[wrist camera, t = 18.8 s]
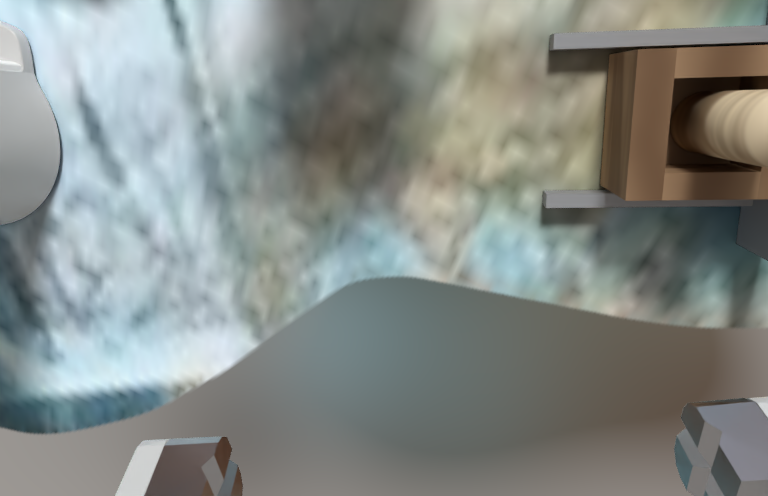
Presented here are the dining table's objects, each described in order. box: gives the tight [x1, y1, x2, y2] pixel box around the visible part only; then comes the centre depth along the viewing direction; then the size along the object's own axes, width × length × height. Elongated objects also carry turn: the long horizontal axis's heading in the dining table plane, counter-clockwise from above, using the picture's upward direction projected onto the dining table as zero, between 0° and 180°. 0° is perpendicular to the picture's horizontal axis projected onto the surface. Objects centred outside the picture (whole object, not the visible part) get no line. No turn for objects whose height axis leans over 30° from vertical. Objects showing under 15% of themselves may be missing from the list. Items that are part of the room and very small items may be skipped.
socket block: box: [600, 45, 768, 201], centre depth 37 cm, size 10×9×6 cm
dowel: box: [670, 89, 768, 168], centre depth 34 cm, size 4×4×10 cm
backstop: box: [543, 15, 768, 261], centre depth 36 cm, size 16×18×9 cm
